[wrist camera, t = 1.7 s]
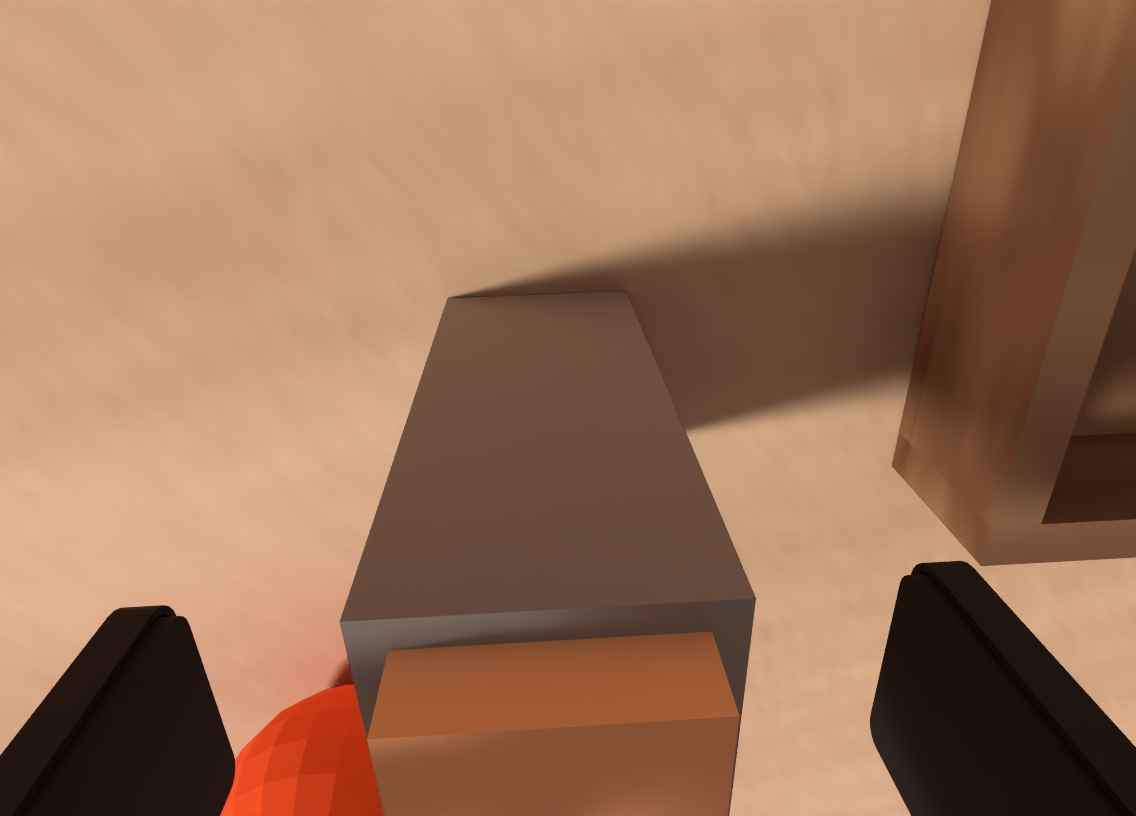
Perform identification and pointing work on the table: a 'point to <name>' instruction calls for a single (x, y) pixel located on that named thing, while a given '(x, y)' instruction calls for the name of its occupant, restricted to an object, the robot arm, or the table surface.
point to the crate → (1036, 298)
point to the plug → (548, 580)
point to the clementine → (308, 763)
